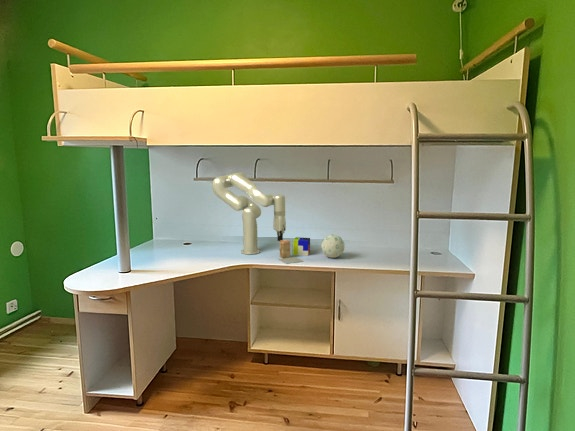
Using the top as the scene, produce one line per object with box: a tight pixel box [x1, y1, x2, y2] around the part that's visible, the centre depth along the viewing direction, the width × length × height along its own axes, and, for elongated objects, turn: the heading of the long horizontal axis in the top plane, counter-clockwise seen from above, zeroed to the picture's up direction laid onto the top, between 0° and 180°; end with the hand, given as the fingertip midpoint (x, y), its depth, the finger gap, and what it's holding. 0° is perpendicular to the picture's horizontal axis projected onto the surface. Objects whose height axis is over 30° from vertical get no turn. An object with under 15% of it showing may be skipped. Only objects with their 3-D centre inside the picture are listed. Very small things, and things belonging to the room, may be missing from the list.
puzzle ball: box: [320, 234, 345, 259], centre depth 257 cm, size 15×15×15 cm
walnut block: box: [279, 239, 291, 259], centre depth 257 cm, size 5×5×11 cm
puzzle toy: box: [292, 236, 311, 257], centre depth 267 cm, size 10×10×10 cm
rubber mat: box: [278, 256, 305, 265], centre depth 250 cm, size 11×12×1 cm
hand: (280, 240), depth 263 cm, fingers closed
